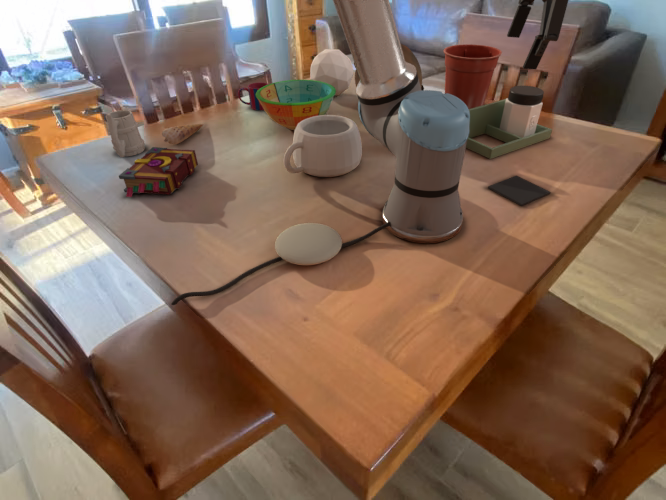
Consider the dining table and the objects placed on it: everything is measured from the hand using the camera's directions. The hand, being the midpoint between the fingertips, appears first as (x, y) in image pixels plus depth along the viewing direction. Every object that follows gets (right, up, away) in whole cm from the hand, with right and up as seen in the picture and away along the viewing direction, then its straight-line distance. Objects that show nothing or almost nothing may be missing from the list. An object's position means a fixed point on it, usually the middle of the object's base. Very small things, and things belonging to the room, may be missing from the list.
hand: (520, 51), depth 94 cm
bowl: (-52, -8, +31) cm, 60 cm away
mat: (-1, -31, -2) cm, 31 cm away
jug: (-24, -5, +33) cm, 41 cm away
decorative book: (-81, -28, +6) cm, 86 cm away
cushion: (-46, -44, -17) cm, 66 cm away
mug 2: (-44, -24, +9) cm, 51 cm away
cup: (-66, +2, +44) cm, 80 cm away
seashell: (-82, -13, +25) cm, 87 cm away
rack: (+3, -15, +19) cm, 24 cm away
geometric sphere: (-42, +10, +53) cm, 68 cm away
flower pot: (0, +2, +41) cm, 41 cm away
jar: (+8, -13, +21) cm, 26 cm away
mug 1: (-95, -19, +18) cm, 99 cm away
